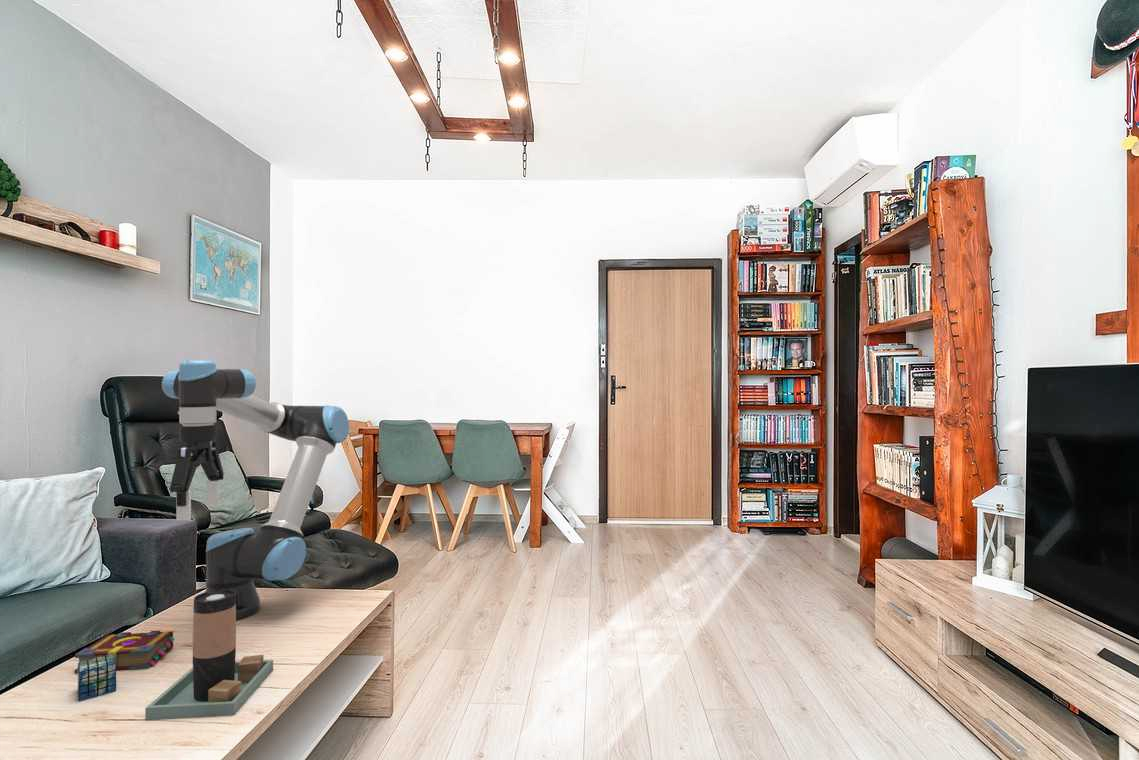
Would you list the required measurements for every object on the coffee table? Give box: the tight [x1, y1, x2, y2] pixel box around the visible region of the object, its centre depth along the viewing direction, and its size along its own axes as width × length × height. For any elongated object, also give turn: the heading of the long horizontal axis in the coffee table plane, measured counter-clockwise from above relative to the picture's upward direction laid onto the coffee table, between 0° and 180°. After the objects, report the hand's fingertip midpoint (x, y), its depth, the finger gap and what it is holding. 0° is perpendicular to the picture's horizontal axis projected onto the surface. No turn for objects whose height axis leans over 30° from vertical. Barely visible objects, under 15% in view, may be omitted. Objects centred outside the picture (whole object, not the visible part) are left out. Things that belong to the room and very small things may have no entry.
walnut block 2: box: [238, 654, 265, 683], centre depth 125 cm, size 4×4×4 cm
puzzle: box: [77, 654, 117, 702], centre depth 121 cm, size 6×6×6 cm
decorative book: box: [74, 629, 175, 674], centre depth 135 cm, size 11×16×5 cm
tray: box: [144, 659, 274, 721], centre depth 119 cm, size 18×16×3 cm
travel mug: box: [192, 589, 237, 701], centre depth 119 cm, size 8×8×20 cm
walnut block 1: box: [208, 680, 242, 703], centre depth 114 cm, size 4×4×4 cm
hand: (198, 513), depth 138 cm, fingers open, 13 cm apart
